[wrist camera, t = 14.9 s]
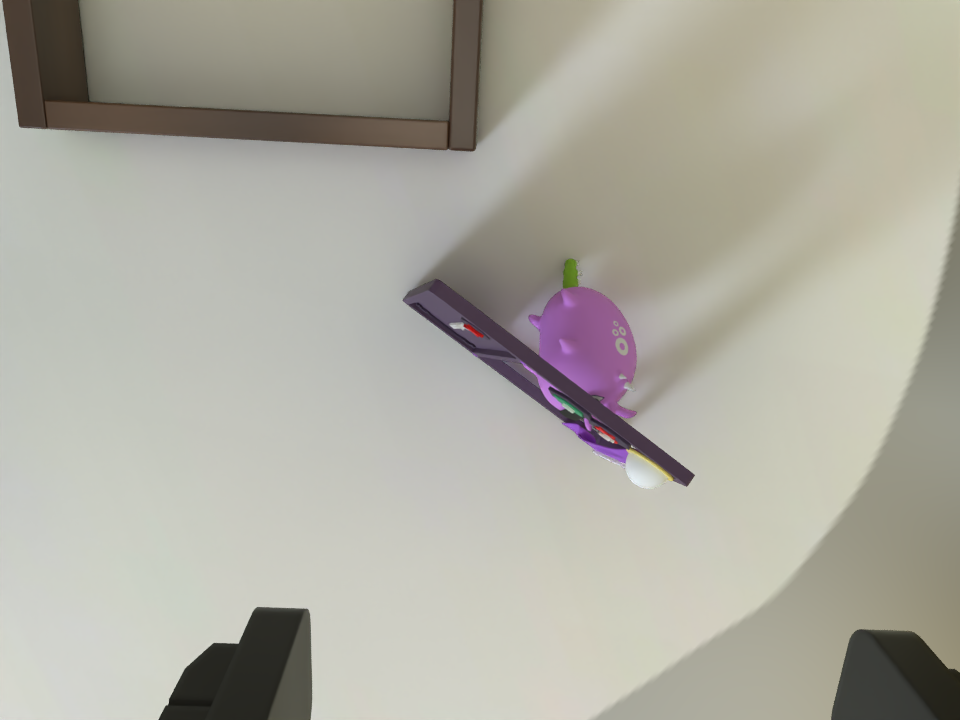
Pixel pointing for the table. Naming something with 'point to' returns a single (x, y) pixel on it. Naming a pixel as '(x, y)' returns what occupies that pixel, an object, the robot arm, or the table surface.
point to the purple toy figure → (565, 367)
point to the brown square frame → (65, 106)
